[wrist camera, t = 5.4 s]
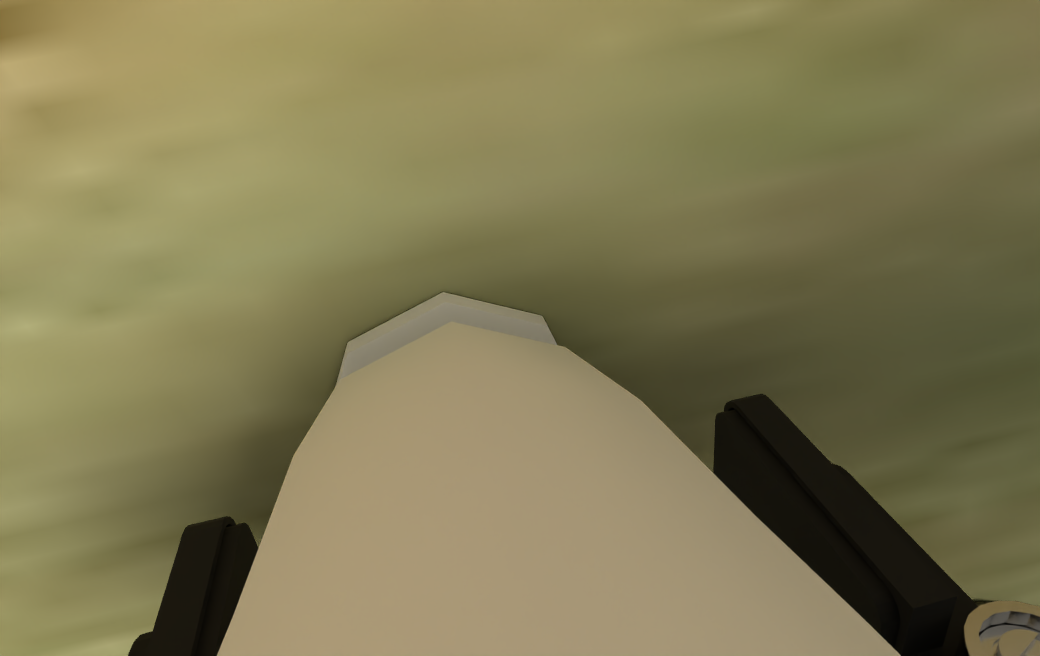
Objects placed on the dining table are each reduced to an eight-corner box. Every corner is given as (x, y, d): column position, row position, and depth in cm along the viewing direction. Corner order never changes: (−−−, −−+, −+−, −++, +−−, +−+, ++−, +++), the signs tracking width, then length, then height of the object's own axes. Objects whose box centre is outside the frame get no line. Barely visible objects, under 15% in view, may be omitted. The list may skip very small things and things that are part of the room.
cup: (422, 106, 9) (614, 551, 2) (814, 440, 14) (1290, 938, 7) (145, 456, 11) (-263, 1362, 4) (577, 653, 15) (759, 1234, 8)
